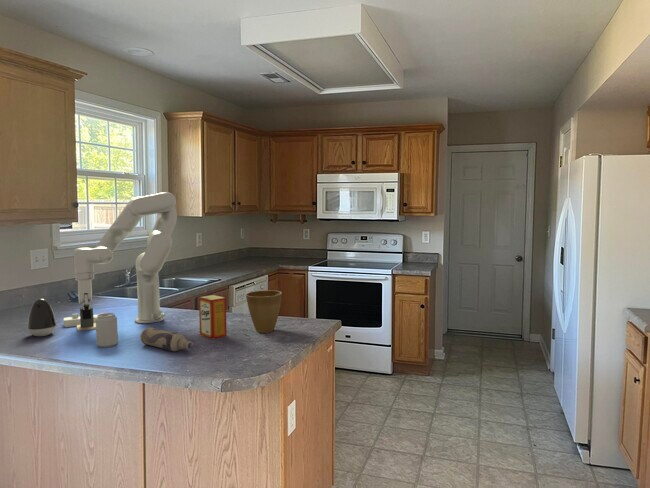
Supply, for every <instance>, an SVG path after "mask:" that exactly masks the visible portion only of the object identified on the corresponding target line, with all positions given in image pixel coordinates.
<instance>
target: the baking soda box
mask: <svg viewBox="0 0 650 488" xmlns="http://www.w3.org/2000/svg"><path fill="white" fill-rule="evenodd" d="M226 300H227V299H226V297H223V296H219V295H215V294H212V295H211V294H210V295H203V296H199V297H198V309H199V310H198V311H199V313H198V315H199V316H198V317H199V335H200V336H202V337H205V338H209V339H211V340H215V339H216V340H217V339H220V338H223V337H227V336H228V334H227V333H228V332H227V301H226Z"/></svg>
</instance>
